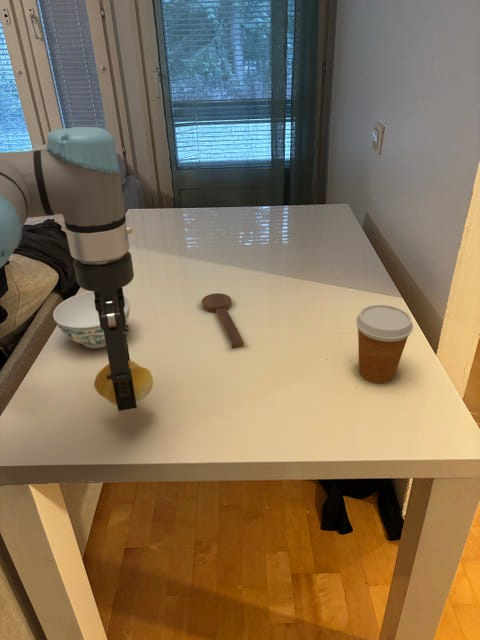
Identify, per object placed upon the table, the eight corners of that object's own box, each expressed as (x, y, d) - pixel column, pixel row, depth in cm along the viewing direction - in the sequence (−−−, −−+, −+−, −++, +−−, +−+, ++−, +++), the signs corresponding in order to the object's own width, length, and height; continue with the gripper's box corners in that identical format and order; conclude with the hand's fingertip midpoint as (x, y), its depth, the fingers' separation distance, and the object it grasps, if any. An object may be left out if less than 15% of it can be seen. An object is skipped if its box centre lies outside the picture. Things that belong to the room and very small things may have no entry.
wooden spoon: (221, 350, 93) (221, 344, 92) (199, 301, 111) (199, 295, 110) (254, 344, 95) (253, 338, 94) (227, 296, 113) (226, 291, 112)
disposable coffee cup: (349, 385, 83) (355, 328, 77) (351, 355, 91) (357, 301, 84) (405, 392, 81) (416, 334, 74) (402, 360, 89) (412, 305, 82)
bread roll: (124, 415, 68) (120, 394, 66) (87, 390, 73) (83, 370, 71) (166, 386, 73) (163, 366, 71) (129, 365, 78) (125, 346, 76)
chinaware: (83, 318, 106) (76, 288, 102) (145, 324, 103) (141, 293, 99) (47, 356, 93) (37, 323, 89) (117, 364, 90) (110, 330, 86)
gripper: (138, 286, 53) (158, 430, 65) (124, 224, 71) (142, 346, 83) (69, 295, 52) (102, 442, 63) (73, 229, 70) (98, 353, 81)
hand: (125, 387), depth 73 cm, fingers closed on bread roll, 9 cm apart
